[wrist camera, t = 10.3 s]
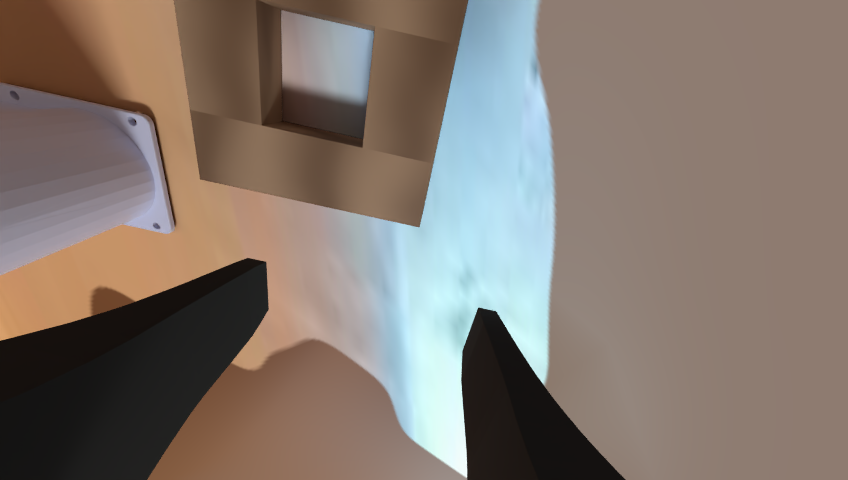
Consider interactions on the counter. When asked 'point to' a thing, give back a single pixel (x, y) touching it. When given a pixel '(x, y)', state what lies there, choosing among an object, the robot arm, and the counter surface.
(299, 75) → the counter surface
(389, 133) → the tan flat piece
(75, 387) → the robot arm
